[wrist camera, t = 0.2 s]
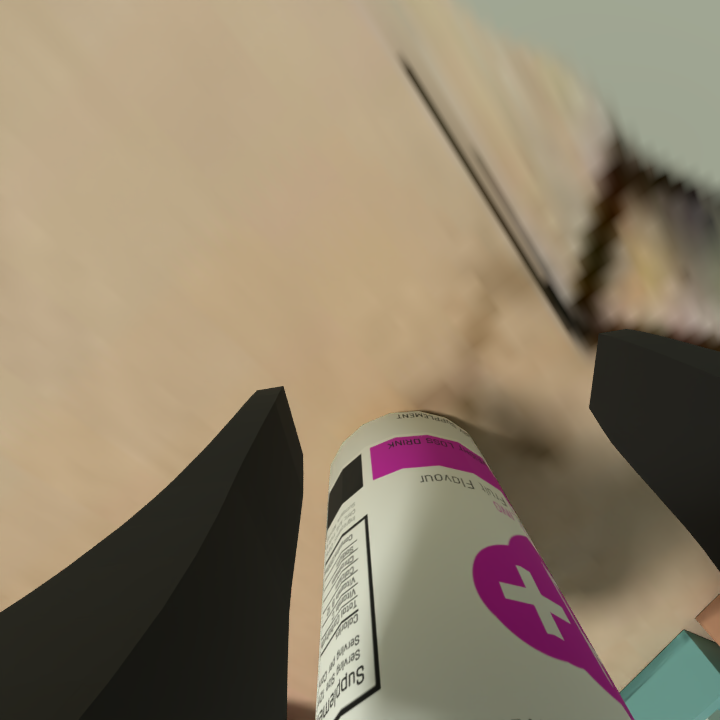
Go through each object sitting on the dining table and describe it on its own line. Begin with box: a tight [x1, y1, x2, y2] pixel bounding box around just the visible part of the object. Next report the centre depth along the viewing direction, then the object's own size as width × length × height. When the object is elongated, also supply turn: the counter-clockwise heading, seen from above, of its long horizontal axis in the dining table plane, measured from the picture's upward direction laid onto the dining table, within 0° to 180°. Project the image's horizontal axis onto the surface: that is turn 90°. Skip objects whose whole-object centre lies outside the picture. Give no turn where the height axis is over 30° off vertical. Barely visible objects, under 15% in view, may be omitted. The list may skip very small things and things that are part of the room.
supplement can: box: [315, 411, 634, 720], centre depth 16 cm, size 8×8×15 cm
